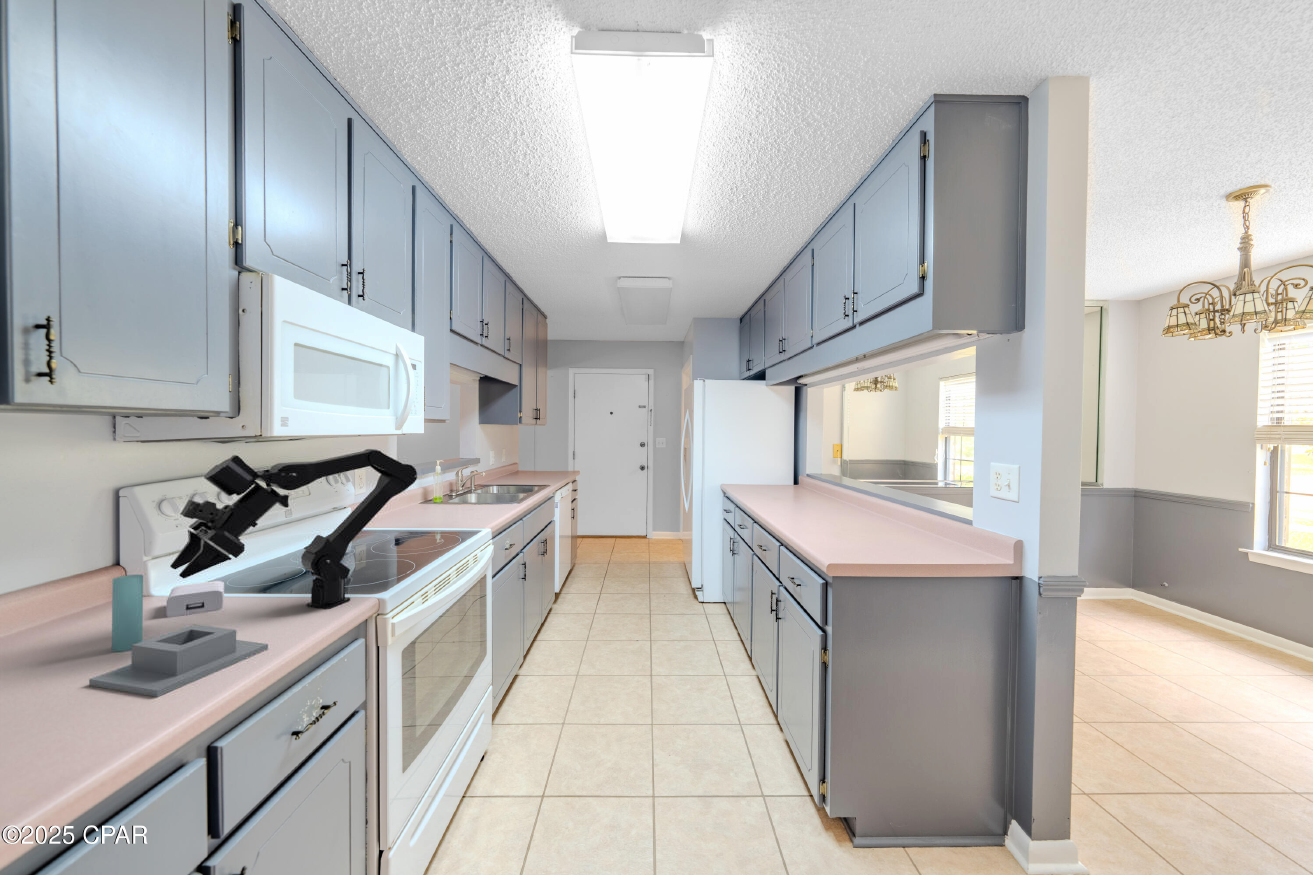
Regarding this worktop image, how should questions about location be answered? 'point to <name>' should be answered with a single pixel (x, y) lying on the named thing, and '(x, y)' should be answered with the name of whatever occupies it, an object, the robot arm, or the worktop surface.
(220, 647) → the socket holder
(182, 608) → the charger
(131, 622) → the peg
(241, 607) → the worktop surface
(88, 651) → the worktop surface
